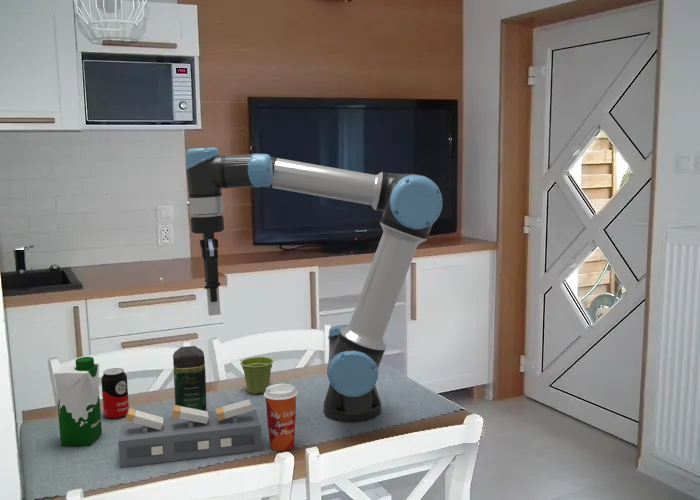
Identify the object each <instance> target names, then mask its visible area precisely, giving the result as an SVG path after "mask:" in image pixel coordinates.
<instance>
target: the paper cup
mask: <svg viewBox="0 0 700 500" xmlns="http://www.w3.org/2000/svg"><path fill="white" fill-rule="evenodd" d="M298 393H299V391H298V390H297V388H296V387H295V385H293V384H289V383H275V384H271V385H270V384H269V386H268V387H267V388H266V391H265V393H263V397H264V398H265V407H266V408H265V409H266V419H267V429H268V438H269V446H270V449H271V450H273V451H276V452H285V451H290V450H292V449H293V448H294V447H295V441H296V440H295V439H296V438H295V436H296V414H297V413H296V411H297V410H296V408H297V407H296V406H297V395H298Z"/></svg>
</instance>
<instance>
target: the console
mask: <svg viewBox="0 0 700 500" xmlns="http://www.w3.org/2000/svg"><path fill="white" fill-rule="evenodd" d="M252 410H253V411H250V412H247V413H243V414H240V415H236V416H233V417H229V418H226V419H223V420H219V421H218V417H217V413H213V414H208V416H209V418H208V421H207V424H205V423H200V422H195V421H189V420H184V419H178V418H173V417H172V418H165V419H164V418H163V425H162V428H161V430H158V429H155V428H151V427H147V426H144V425H140V424H136V423H132V422H127V423H121V425H120V429H119V430H120V431H119V436H118V443H117V446H118V456H119V457H118V458H119V468H126V467H135V466H142V465H151V464H159V463H161V464H162V463H167V462H175V461H176V462H177V461H184V460H185V461H186V460H193V459H200V458H210V457H217V456H227V455H234V454H241V453H250V452H251V453H252V452H258V451H259V452H260V451H263V450H262V424H261V422H260V419H259V416H258V413H257V409H252Z"/></svg>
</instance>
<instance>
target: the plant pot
mask: <svg viewBox="0 0 700 500" xmlns="http://www.w3.org/2000/svg"><path fill="white" fill-rule="evenodd" d="M274 362H275V360H274V359H273V358H271V357H267V356H255V357H253V356H252V357H248V358H244V359H243V360H241V361H240V362H239V363H240V366H241V367H242V371H243V373H244V379H245V383H246V390H247V392H248V393H250V394H253V395H255V394H264V393H265V391H266V388H267V387H268V386H270V382H271V371H272V368H273V363H274Z"/></svg>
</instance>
